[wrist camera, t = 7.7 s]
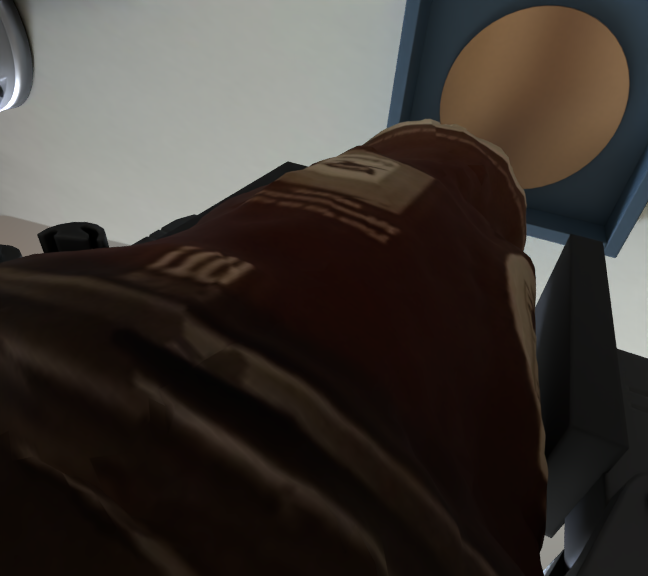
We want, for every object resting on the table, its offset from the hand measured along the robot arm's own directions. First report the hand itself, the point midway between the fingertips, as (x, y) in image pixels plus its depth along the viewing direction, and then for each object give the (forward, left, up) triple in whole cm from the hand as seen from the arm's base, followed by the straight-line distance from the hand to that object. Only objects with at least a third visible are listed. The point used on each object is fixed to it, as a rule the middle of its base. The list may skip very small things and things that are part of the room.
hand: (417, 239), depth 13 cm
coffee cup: (0, 0, -1) cm, 1 cm away
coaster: (+2, +1, -18) cm, 18 cm away
